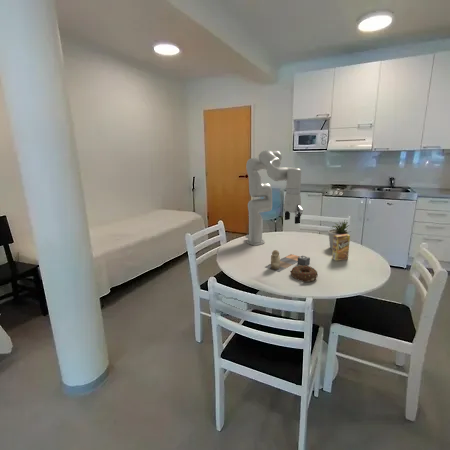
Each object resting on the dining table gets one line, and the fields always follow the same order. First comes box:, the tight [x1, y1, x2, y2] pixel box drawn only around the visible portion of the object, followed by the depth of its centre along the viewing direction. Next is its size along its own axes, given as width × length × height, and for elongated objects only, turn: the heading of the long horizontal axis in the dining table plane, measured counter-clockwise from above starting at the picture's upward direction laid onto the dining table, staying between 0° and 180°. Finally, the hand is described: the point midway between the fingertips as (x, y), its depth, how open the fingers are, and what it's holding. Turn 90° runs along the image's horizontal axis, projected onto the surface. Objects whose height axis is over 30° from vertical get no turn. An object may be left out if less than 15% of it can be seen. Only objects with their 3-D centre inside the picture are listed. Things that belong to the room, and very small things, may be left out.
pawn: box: [270, 249, 281, 270], centre depth 165 cm, size 5×5×10 cm
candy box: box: [331, 234, 351, 261], centre depth 178 cm, size 9×4×15 cm, turn 107°
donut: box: [289, 265, 319, 283], centre depth 155 cm, size 14×14×5 cm
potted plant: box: [327, 219, 352, 250], centre depth 195 cm, size 13×14×20 cm
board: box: [264, 253, 300, 273], centre depth 174 cm, size 10×28×1 cm, turn 135°
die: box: [296, 255, 311, 266], centre depth 171 cm, size 5×5×5 cm
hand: (292, 221), depth 165 cm, fingers open, 9 cm apart
